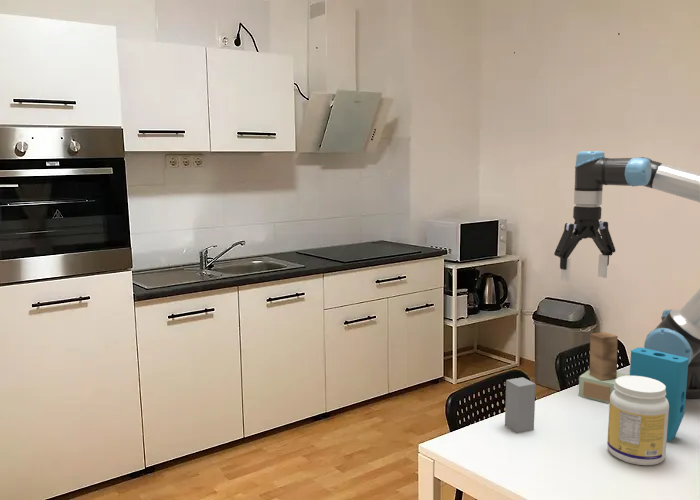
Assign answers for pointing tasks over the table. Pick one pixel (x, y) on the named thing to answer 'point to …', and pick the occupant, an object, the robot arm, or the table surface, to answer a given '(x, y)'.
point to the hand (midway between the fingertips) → (583, 278)
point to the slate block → (520, 405)
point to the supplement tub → (638, 420)
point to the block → (664, 380)
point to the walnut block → (603, 355)
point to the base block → (596, 387)
